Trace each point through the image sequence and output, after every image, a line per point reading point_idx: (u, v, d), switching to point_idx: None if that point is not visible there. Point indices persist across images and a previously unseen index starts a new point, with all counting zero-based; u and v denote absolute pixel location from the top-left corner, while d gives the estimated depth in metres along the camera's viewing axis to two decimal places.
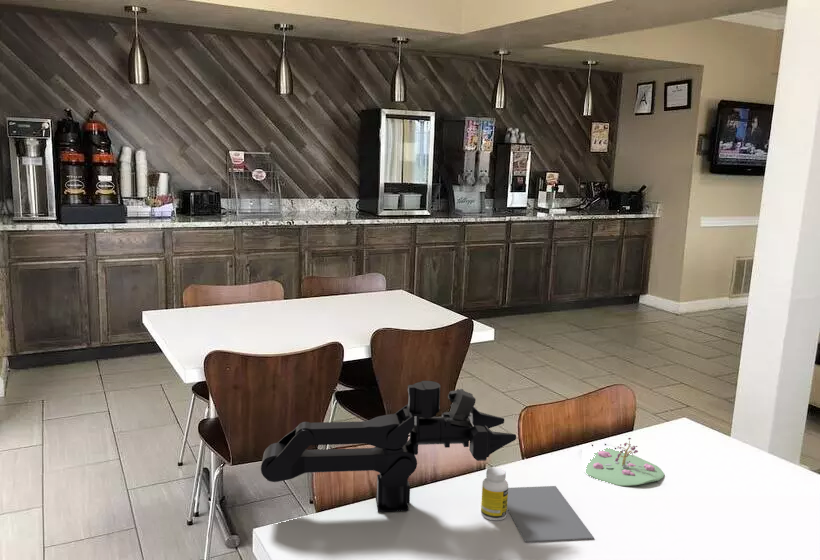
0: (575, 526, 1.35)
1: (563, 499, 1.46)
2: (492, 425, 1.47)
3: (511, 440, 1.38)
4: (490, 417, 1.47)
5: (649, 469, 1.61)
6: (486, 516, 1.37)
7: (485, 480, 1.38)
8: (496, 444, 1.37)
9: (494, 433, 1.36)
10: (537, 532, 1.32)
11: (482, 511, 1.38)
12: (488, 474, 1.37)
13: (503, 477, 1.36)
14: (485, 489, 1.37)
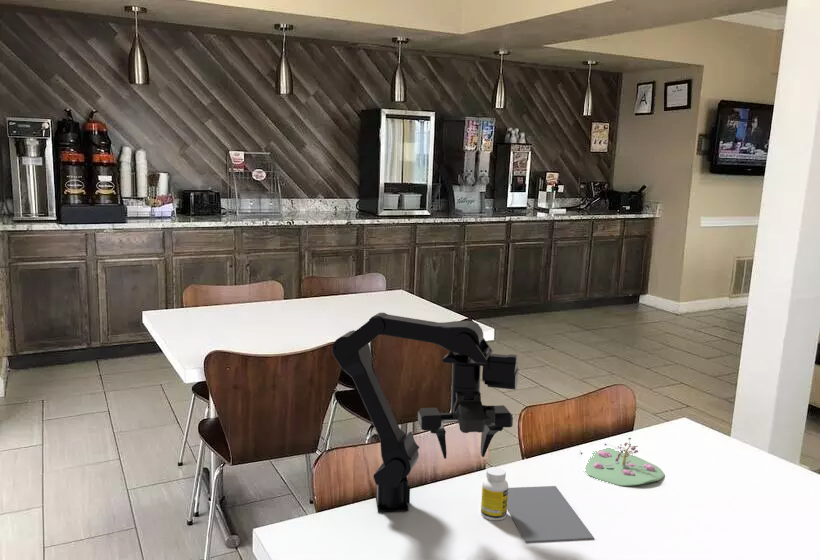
0: (575, 526, 1.35)
1: (563, 499, 1.46)
2: (481, 442, 1.37)
3: (442, 452, 1.36)
4: (484, 443, 1.35)
5: (649, 469, 1.61)
6: (486, 516, 1.37)
7: (485, 480, 1.38)
8: None
9: (440, 437, 1.33)
10: (537, 532, 1.32)
11: (482, 511, 1.38)
12: (488, 474, 1.37)
13: (503, 477, 1.36)
14: (485, 489, 1.37)
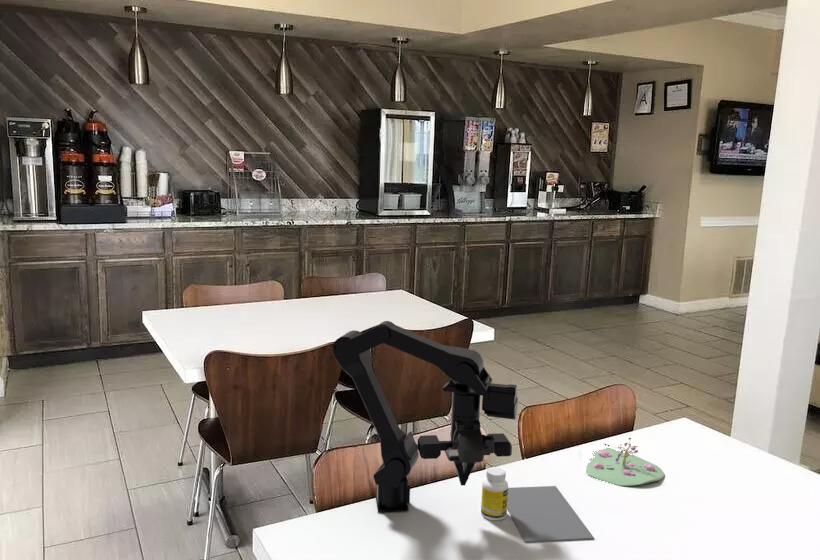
0: (575, 526, 1.35)
1: (563, 499, 1.46)
2: (462, 470, 1.38)
3: (459, 478, 1.37)
4: (465, 472, 1.36)
5: (649, 469, 1.61)
6: (486, 516, 1.37)
7: (485, 480, 1.38)
8: (455, 462, 1.37)
9: (457, 465, 1.35)
10: (537, 532, 1.32)
11: (482, 511, 1.38)
12: (488, 474, 1.37)
13: (503, 477, 1.36)
14: (485, 489, 1.37)
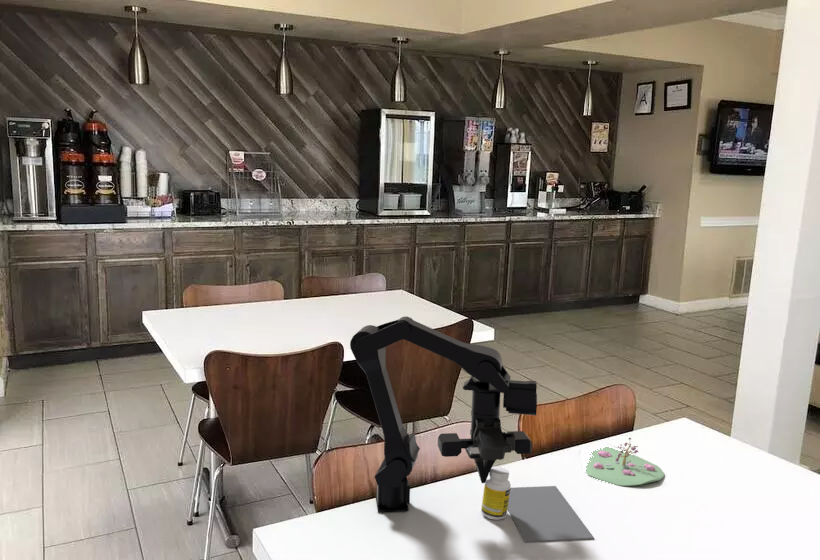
0: (575, 526, 1.35)
1: (563, 499, 1.46)
2: None
3: (479, 476, 1.38)
4: (485, 469, 1.36)
5: (649, 469, 1.61)
6: (486, 515, 1.37)
7: (488, 479, 1.38)
8: None
9: (478, 462, 1.35)
10: (537, 532, 1.32)
11: (483, 509, 1.38)
12: (491, 472, 1.37)
13: (506, 477, 1.36)
14: (488, 487, 1.37)
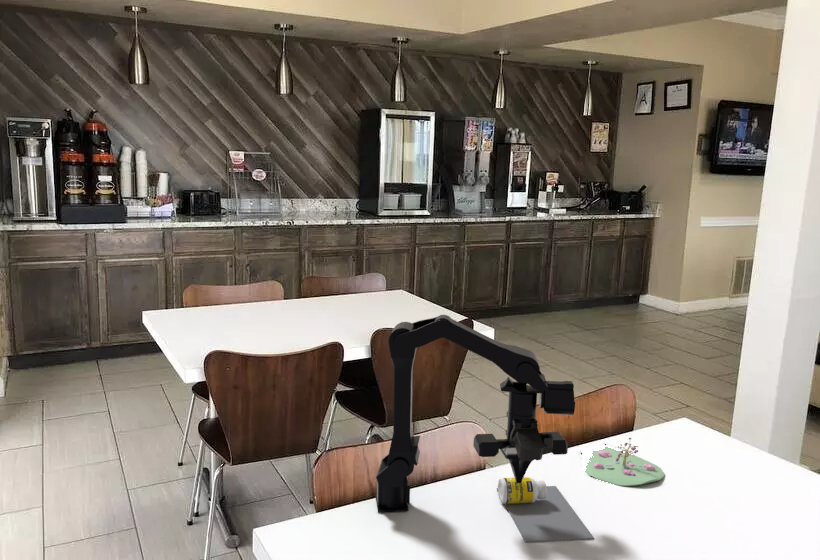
0: (575, 526, 1.35)
1: (563, 499, 1.46)
2: None
3: (514, 476, 1.39)
4: (521, 470, 1.37)
5: (649, 469, 1.61)
6: None
7: None
8: (510, 460, 1.39)
9: (514, 463, 1.36)
10: (537, 532, 1.32)
11: None
12: None
13: (543, 484, 1.43)
14: None
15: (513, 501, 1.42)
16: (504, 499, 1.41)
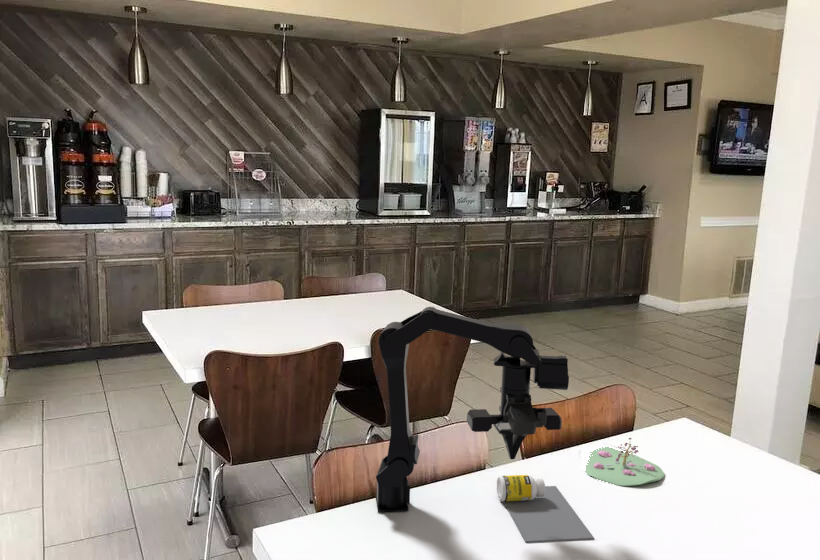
0: (575, 526, 1.35)
1: (563, 499, 1.46)
2: None
3: (508, 452, 1.38)
4: (514, 445, 1.36)
5: (650, 469, 1.61)
6: None
7: None
8: (504, 436, 1.38)
9: (507, 438, 1.35)
10: (537, 532, 1.32)
11: None
12: None
13: (540, 479, 1.45)
14: None
15: (512, 495, 1.42)
16: (503, 493, 1.42)
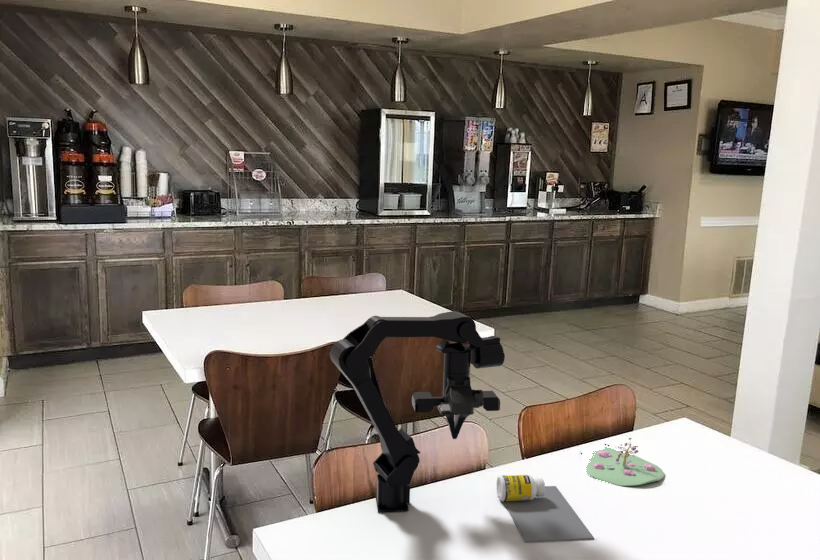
0: (575, 526, 1.35)
1: (563, 499, 1.46)
2: (454, 425, 1.47)
3: None
4: (456, 426, 1.45)
5: (650, 469, 1.61)
6: None
7: None
8: (447, 417, 1.46)
9: (449, 419, 1.44)
10: (537, 532, 1.32)
11: None
12: None
13: (540, 479, 1.45)
14: None
15: (512, 494, 1.42)
16: (503, 492, 1.42)
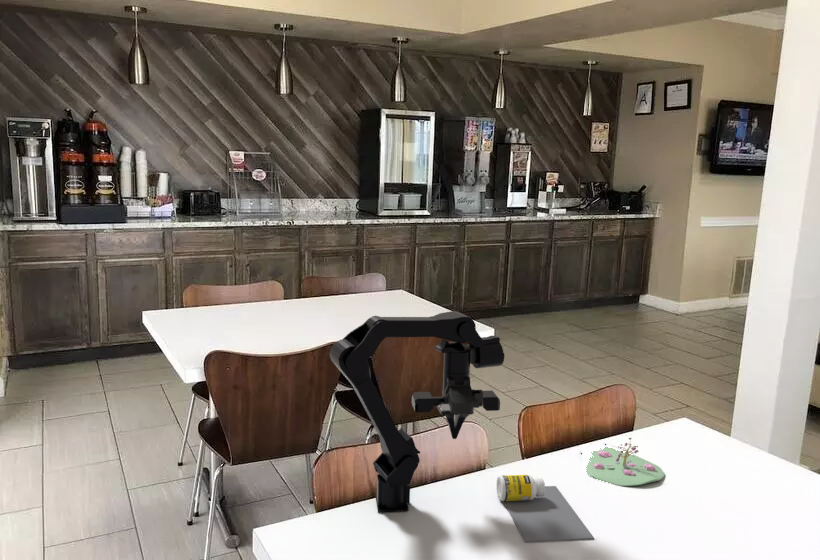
0: (575, 526, 1.35)
1: (563, 499, 1.46)
2: (454, 425, 1.47)
3: None
4: (456, 426, 1.45)
5: (650, 469, 1.61)
6: None
7: None
8: (447, 417, 1.46)
9: (449, 419, 1.44)
10: (537, 532, 1.32)
11: None
12: None
13: (540, 479, 1.45)
14: None
15: (512, 494, 1.42)
16: (503, 492, 1.42)
